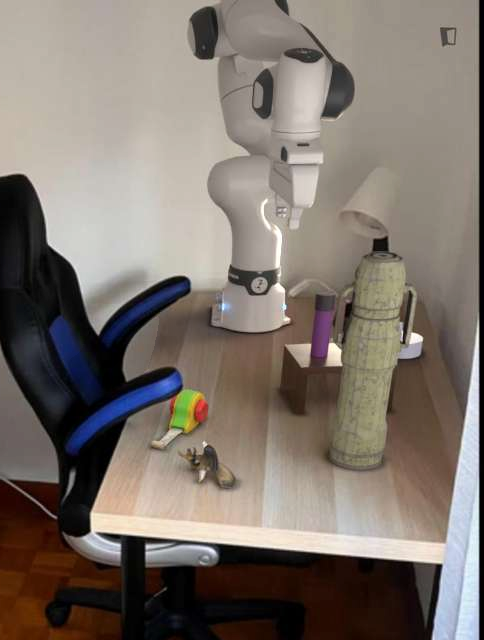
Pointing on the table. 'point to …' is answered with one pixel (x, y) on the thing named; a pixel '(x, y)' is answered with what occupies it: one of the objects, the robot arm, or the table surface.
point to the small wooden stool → (312, 372)
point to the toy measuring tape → (184, 415)
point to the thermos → (369, 357)
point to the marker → (322, 323)
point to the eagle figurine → (210, 465)
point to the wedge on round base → (411, 346)
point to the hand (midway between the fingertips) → (286, 222)
